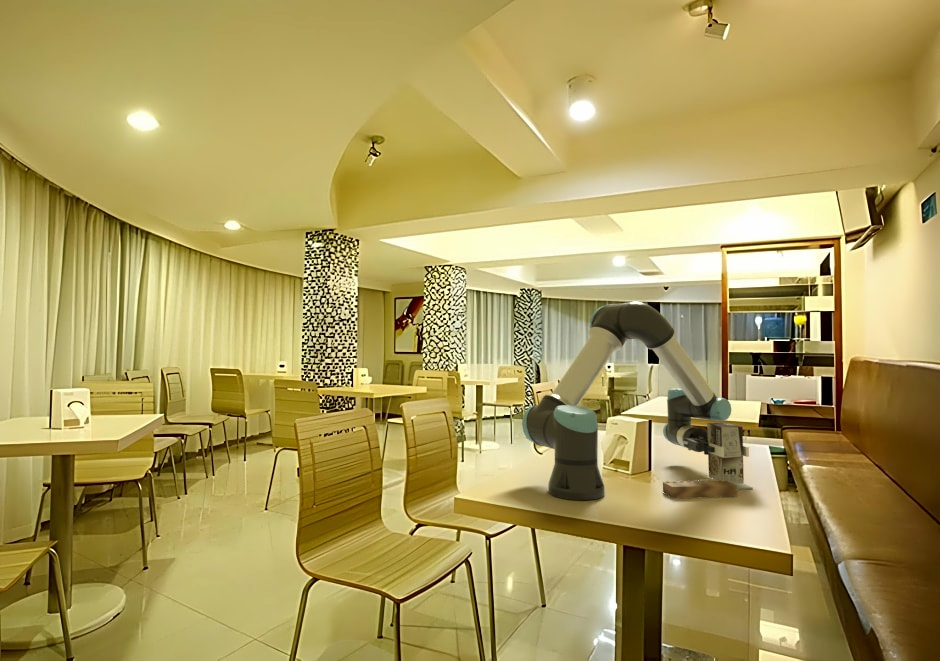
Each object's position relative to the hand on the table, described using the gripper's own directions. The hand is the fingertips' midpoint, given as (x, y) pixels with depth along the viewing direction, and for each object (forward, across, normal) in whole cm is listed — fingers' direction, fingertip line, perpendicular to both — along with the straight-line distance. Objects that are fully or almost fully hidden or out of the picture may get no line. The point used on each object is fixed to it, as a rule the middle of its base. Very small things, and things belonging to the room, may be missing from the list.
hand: (735, 452), depth 147 cm
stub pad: (-6, 0, -10) cm, 12 cm away
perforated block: (+4, +13, -10) cm, 17 cm away
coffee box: (-5, 0, -9) cm, 10 cm away
